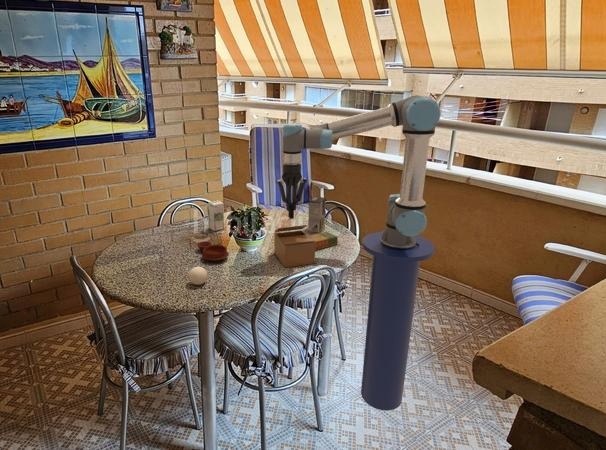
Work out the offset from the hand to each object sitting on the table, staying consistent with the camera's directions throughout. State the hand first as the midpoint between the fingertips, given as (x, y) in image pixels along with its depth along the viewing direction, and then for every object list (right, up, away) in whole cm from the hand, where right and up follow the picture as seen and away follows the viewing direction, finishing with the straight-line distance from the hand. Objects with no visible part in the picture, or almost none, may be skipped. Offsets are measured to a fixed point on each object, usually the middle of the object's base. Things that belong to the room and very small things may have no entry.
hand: (291, 217), depth 174 cm
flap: (0, -5, +2) cm, 5 cm away
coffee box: (+16, -6, +35) cm, 39 cm away
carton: (+14, -13, +15) cm, 24 cm away
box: (+1, -17, +2) cm, 18 cm away
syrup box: (-35, -5, +38) cm, 52 cm away
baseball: (-37, -26, -18) cm, 48 cm away
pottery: (-35, -17, +6) cm, 39 cm away
